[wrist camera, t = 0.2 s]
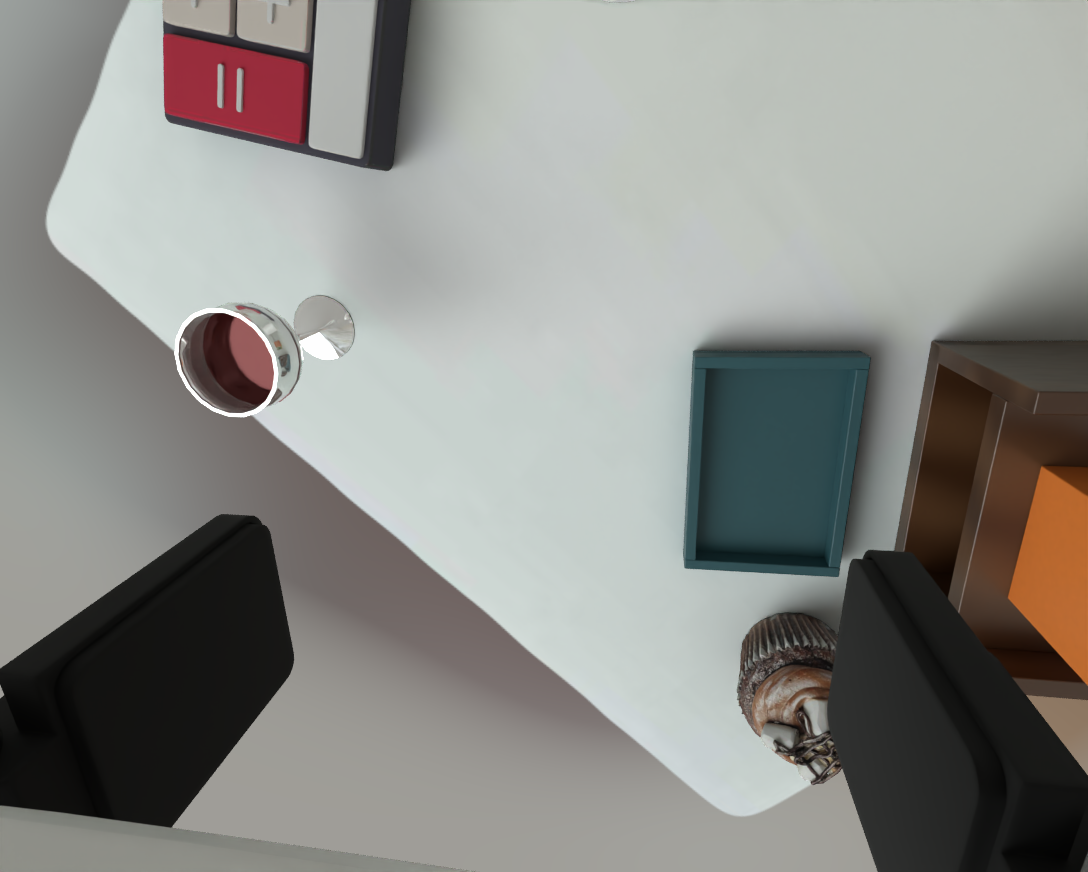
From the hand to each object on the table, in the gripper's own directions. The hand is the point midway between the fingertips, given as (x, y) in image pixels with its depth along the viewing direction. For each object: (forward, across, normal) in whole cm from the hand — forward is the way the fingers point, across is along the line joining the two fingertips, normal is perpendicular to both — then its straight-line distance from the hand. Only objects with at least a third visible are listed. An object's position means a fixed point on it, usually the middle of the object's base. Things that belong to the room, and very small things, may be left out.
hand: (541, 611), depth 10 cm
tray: (+37, -10, +12) cm, 40 cm away
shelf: (+37, -26, +12) cm, 47 cm away
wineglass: (+37, +23, +2) cm, 44 cm away
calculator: (+37, +22, -16) cm, 46 cm away
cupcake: (+37, -14, +29) cm, 49 cm away
